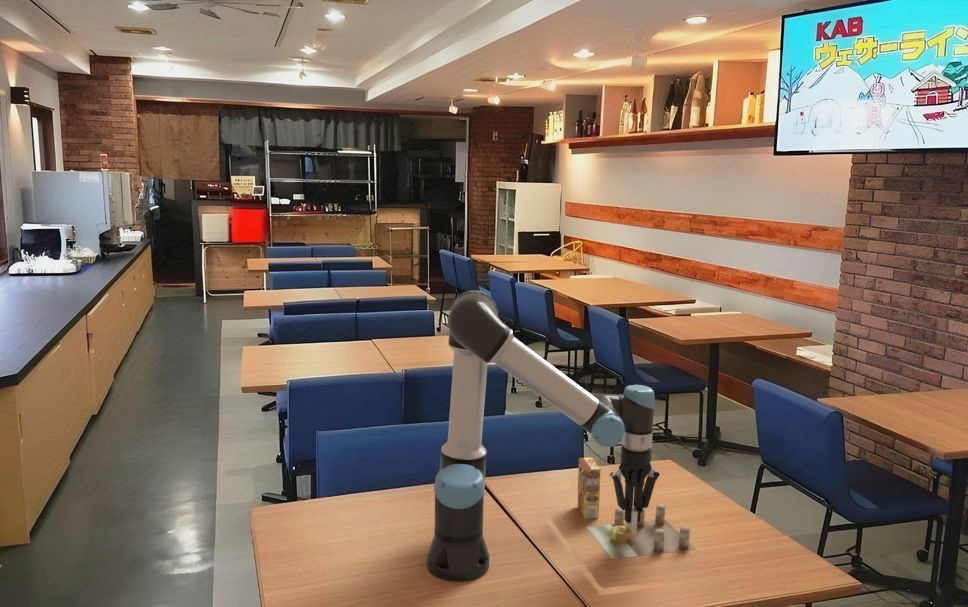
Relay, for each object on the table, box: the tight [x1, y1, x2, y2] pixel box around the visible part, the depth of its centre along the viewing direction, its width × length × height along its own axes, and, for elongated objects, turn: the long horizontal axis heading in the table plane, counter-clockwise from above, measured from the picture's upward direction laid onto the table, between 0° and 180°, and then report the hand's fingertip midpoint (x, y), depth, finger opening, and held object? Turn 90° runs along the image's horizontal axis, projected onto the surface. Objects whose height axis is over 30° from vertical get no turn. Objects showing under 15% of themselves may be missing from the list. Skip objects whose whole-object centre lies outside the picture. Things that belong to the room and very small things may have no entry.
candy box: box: [576, 457, 602, 519], centre depth 205 cm, size 9×4×15 cm, turn 8°
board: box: [586, 503, 698, 560], centre depth 190 cm, size 23×17×6 cm
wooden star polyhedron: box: [611, 525, 631, 545], centre depth 189 cm, size 4×5×3 cm
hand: (631, 533), depth 190 cm, fingers closed
